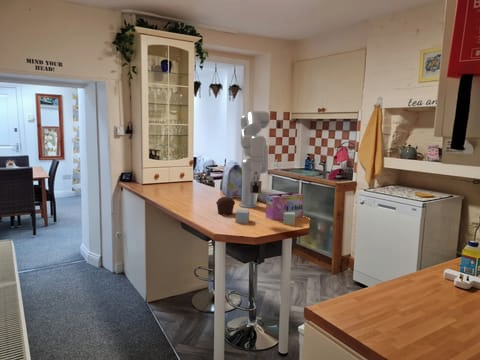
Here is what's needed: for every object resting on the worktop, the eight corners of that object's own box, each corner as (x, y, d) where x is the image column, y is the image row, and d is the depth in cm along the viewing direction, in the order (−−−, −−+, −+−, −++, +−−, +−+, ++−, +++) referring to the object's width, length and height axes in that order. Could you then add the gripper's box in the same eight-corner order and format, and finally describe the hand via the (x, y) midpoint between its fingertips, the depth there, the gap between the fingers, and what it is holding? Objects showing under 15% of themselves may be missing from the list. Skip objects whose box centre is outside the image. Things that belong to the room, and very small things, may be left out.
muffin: (222, 216, 212) (222, 199, 210) (212, 212, 221) (212, 196, 219) (238, 214, 219) (239, 198, 217) (228, 210, 228) (228, 194, 226)
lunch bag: (248, 198, 267) (249, 162, 263) (226, 198, 263) (226, 162, 259) (241, 192, 289) (242, 159, 285) (220, 193, 285) (221, 159, 281)
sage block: (283, 221, 205) (283, 211, 204) (294, 222, 205) (294, 211, 204) (283, 224, 199) (284, 213, 198) (294, 225, 199) (295, 214, 198)
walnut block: (250, 191, 204) (250, 180, 203) (261, 191, 203) (261, 181, 202) (250, 193, 198) (250, 182, 197) (261, 193, 197) (261, 182, 196)
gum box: (296, 213, 226) (298, 192, 224) (305, 216, 219) (306, 194, 217) (265, 217, 214) (266, 194, 212) (272, 220, 207) (274, 197, 205)
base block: (236, 219, 207) (237, 209, 206) (248, 220, 206) (249, 210, 205) (235, 222, 200) (235, 212, 199) (247, 223, 199) (248, 212, 198)
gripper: (250, 157, 206) (249, 188, 209) (249, 160, 189) (248, 194, 192) (263, 157, 206) (262, 189, 209) (263, 160, 189) (262, 194, 192)
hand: (255, 191), depth 200 cm, fingers closed on walnut block, 6 cm apart
